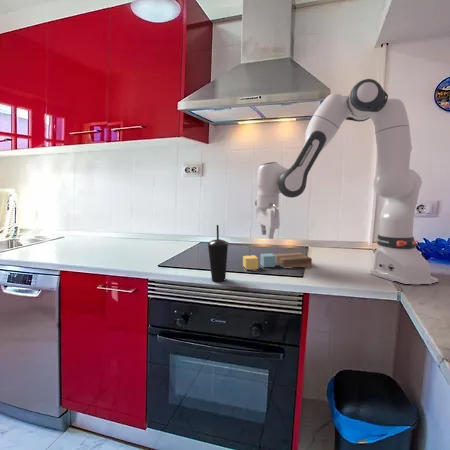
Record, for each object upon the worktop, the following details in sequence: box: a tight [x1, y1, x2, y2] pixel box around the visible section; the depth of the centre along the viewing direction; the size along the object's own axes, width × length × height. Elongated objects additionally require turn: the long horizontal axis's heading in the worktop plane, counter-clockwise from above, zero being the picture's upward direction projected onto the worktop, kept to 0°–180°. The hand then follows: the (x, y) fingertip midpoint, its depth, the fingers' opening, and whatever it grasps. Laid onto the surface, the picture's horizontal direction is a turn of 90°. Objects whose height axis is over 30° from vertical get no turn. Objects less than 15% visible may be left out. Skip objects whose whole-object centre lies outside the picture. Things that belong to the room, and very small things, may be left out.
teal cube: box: [259, 252, 277, 268], centre depth 132 cm, size 5×5×5 cm
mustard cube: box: [242, 254, 259, 270], centre depth 129 cm, size 5×5×5 cm
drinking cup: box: [206, 224, 230, 283], centre depth 114 cm, size 8×8×20 cm
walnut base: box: [273, 251, 312, 268], centre depth 135 cm, size 12×12×4 cm
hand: (267, 236), depth 131 cm, fingers open, 8 cm apart
